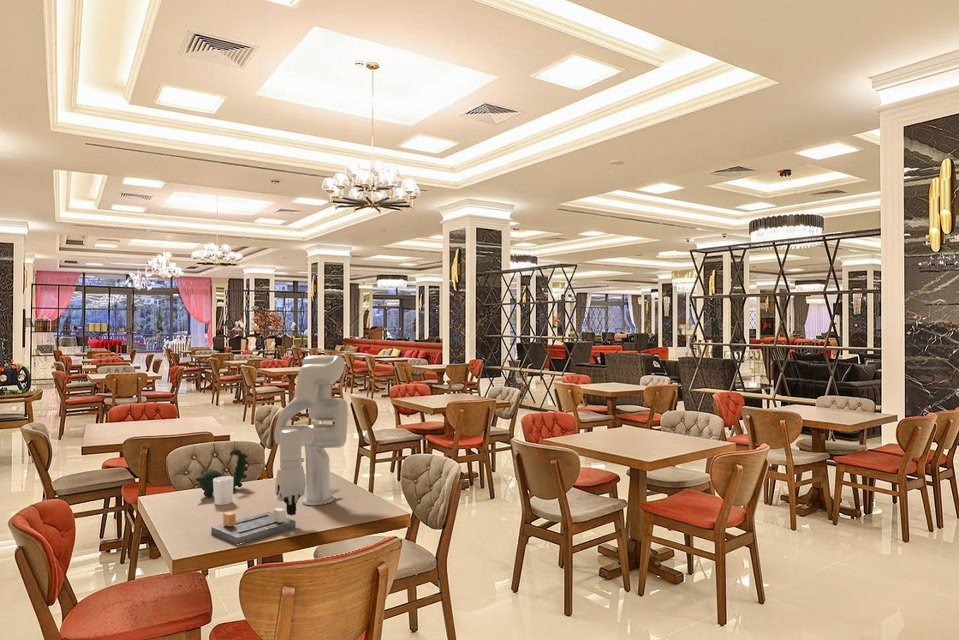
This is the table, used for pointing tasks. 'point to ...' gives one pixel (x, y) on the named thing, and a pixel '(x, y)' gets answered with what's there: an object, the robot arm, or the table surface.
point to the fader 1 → (229, 519)
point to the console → (252, 528)
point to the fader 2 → (279, 515)
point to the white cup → (223, 490)
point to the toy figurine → (209, 475)
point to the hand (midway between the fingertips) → (291, 514)
